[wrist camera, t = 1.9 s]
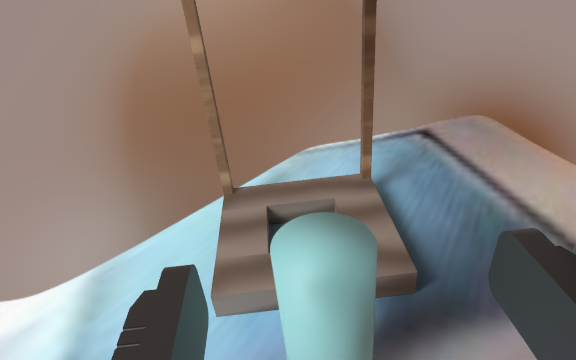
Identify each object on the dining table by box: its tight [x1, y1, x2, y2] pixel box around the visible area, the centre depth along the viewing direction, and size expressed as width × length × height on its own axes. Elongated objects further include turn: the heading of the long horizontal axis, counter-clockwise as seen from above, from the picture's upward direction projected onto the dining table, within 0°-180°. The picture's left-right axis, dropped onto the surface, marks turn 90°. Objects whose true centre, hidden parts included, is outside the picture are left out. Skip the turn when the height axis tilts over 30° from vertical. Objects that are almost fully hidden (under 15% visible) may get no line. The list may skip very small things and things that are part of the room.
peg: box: [270, 212, 377, 360], centre depth 21 cm, size 5×5×14 cm
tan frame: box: [181, 0, 418, 317], centre depth 32 cm, size 16×17×27 cm
